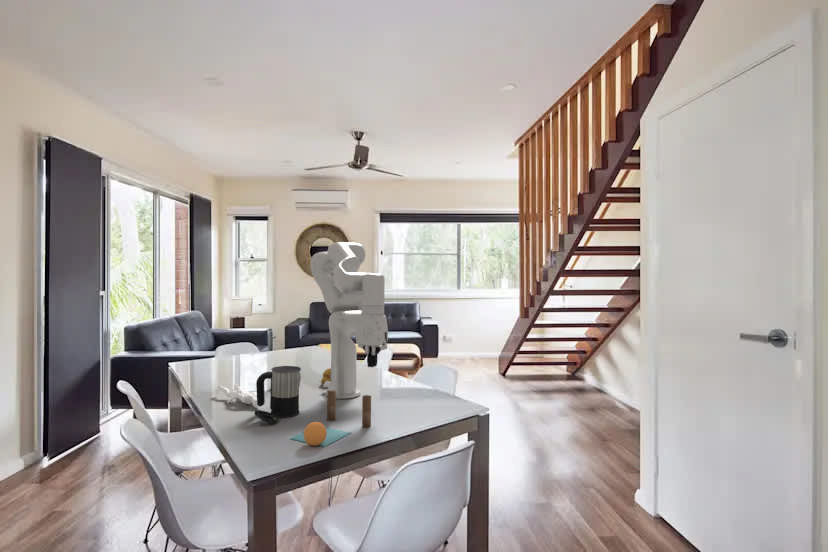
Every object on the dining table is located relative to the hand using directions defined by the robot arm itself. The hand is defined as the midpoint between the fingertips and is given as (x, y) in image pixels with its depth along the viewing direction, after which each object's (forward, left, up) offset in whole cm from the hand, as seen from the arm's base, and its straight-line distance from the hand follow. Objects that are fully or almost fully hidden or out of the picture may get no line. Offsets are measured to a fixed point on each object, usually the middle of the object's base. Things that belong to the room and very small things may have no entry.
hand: (372, 366), depth 152 cm
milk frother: (-22, -19, -15) cm, 33 cm away
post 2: (+7, -13, -15) cm, 21 cm away
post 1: (-6, -13, -15) cm, 21 cm away
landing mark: (0, -26, -15) cm, 30 cm away
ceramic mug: (-47, +12, -15) cm, 51 cm away
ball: (+3, -32, -12) cm, 34 cm away
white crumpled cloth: (-47, -12, -16) cm, 51 cm away
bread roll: (-34, +25, -15) cm, 45 cm away
